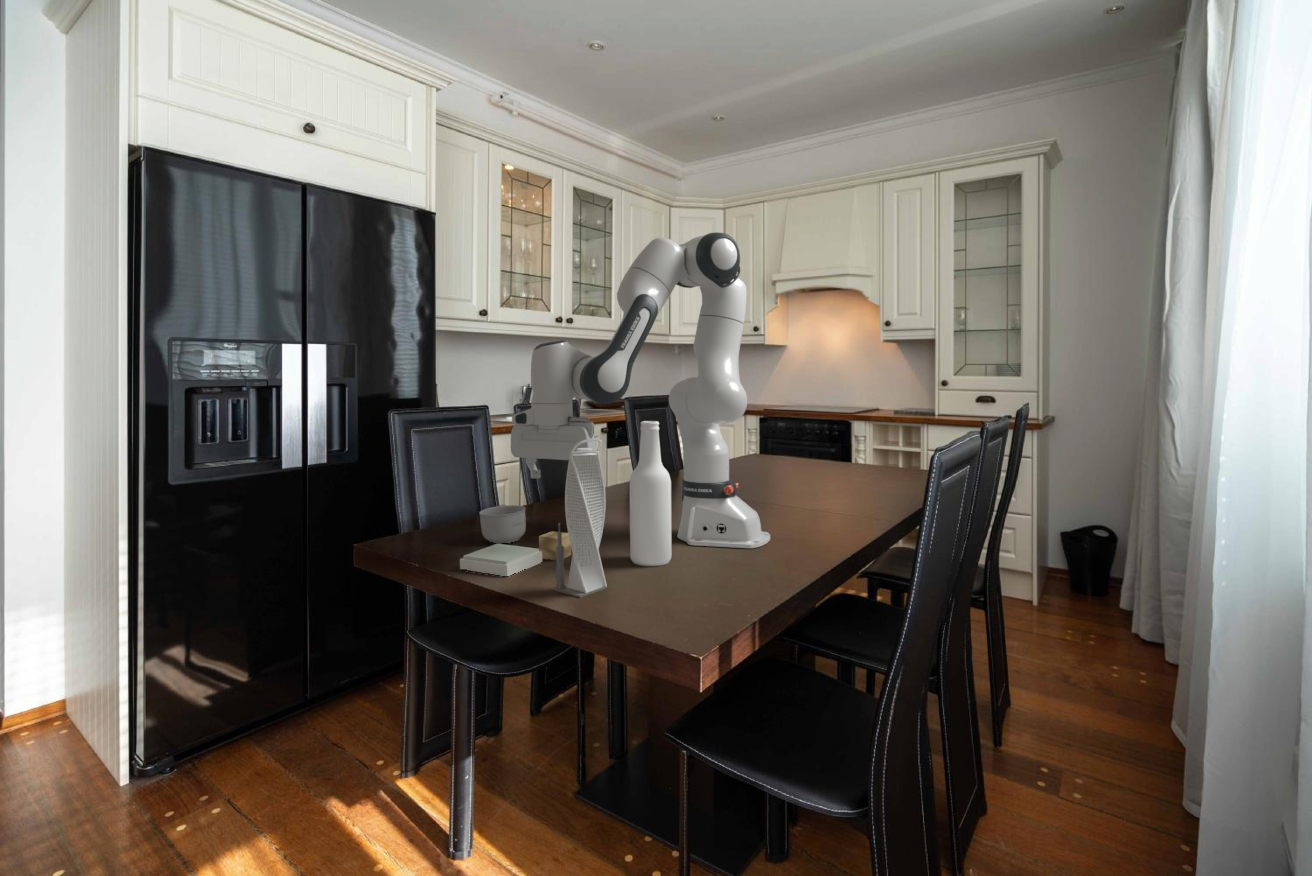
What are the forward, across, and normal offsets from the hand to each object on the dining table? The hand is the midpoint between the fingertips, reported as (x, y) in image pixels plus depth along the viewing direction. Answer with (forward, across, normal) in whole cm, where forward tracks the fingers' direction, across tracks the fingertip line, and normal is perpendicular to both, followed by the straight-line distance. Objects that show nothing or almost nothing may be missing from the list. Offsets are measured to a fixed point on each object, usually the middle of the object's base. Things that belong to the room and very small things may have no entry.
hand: (553, 479), depth 149 cm
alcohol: (+17, -21, -5) cm, 28 cm away
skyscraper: (+17, -18, +17) cm, 30 cm away
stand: (+17, +6, +11) cm, 21 cm away
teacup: (+17, +20, -8) cm, 28 cm away
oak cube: (+17, 0, 0) cm, 17 cm away
